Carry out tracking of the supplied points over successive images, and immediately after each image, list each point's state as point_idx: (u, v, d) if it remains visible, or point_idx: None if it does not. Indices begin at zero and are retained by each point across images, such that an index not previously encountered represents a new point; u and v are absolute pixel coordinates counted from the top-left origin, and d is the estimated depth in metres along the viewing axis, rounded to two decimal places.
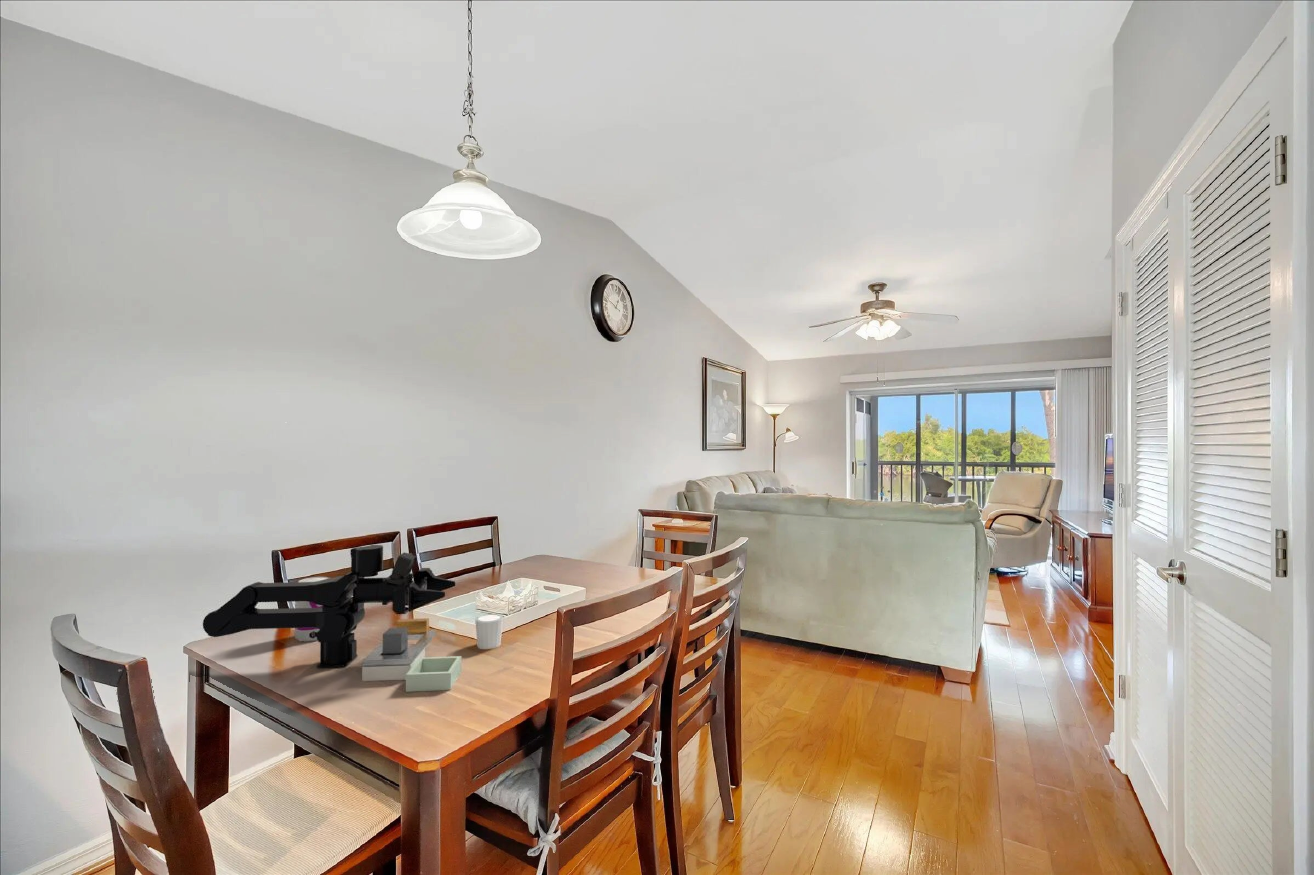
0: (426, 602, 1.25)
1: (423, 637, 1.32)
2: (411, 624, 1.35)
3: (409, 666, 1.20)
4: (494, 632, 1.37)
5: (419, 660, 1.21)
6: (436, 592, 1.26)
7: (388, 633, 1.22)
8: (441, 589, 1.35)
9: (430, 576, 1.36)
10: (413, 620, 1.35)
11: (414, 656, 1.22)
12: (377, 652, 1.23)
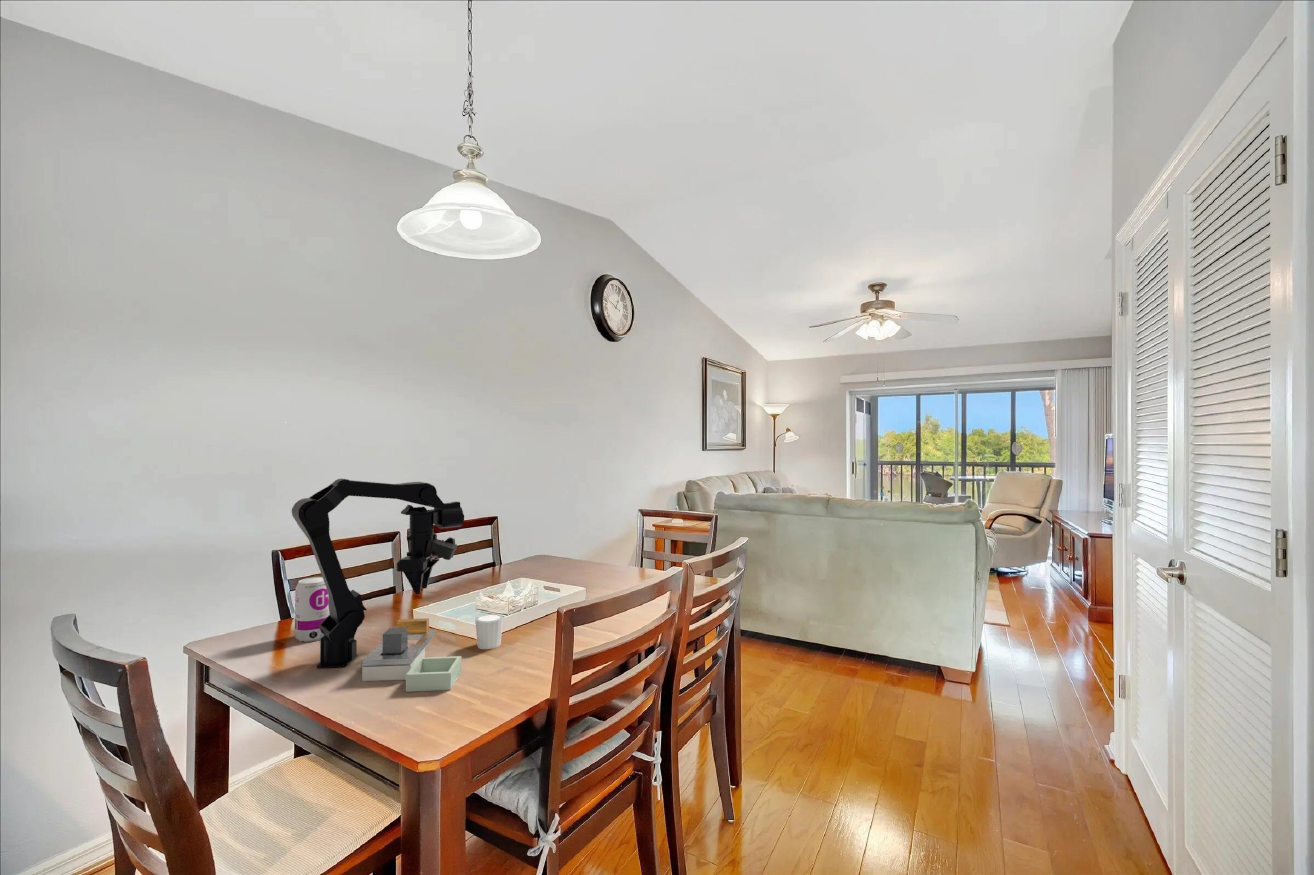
0: (410, 580, 1.38)
1: (423, 637, 1.32)
2: (411, 624, 1.35)
3: (409, 666, 1.20)
4: (494, 632, 1.37)
5: (419, 660, 1.21)
6: (419, 587, 1.39)
7: (388, 633, 1.22)
8: None
9: (432, 564, 1.45)
10: (413, 620, 1.35)
11: (414, 656, 1.22)
12: (377, 652, 1.23)
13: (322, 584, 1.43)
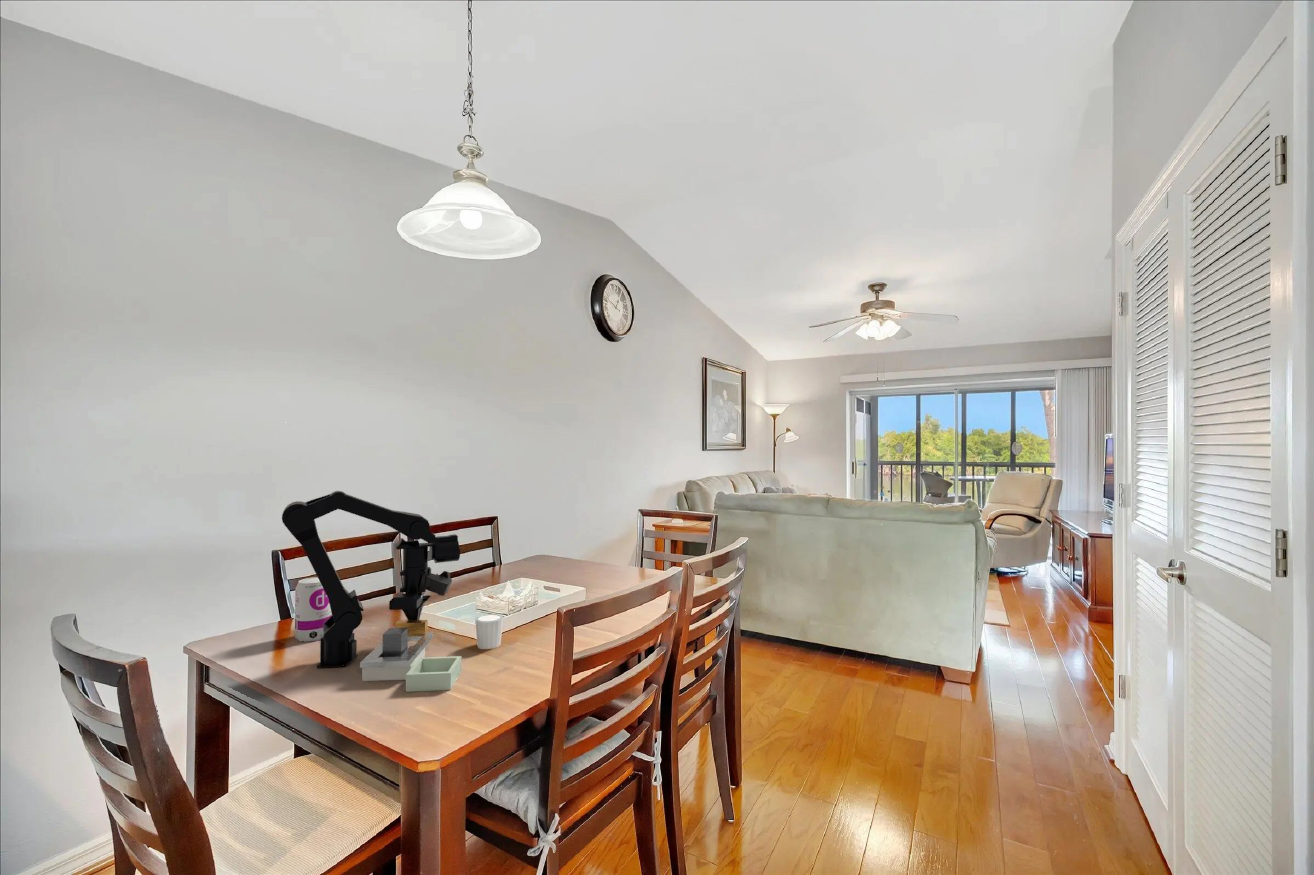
0: (406, 614, 1.36)
1: (422, 639, 1.31)
2: (409, 626, 1.34)
3: (409, 666, 1.20)
4: (494, 632, 1.38)
5: (419, 660, 1.21)
6: None
7: (388, 633, 1.22)
8: None
9: None
10: (412, 622, 1.34)
11: (412, 658, 1.21)
12: (375, 654, 1.22)
13: None
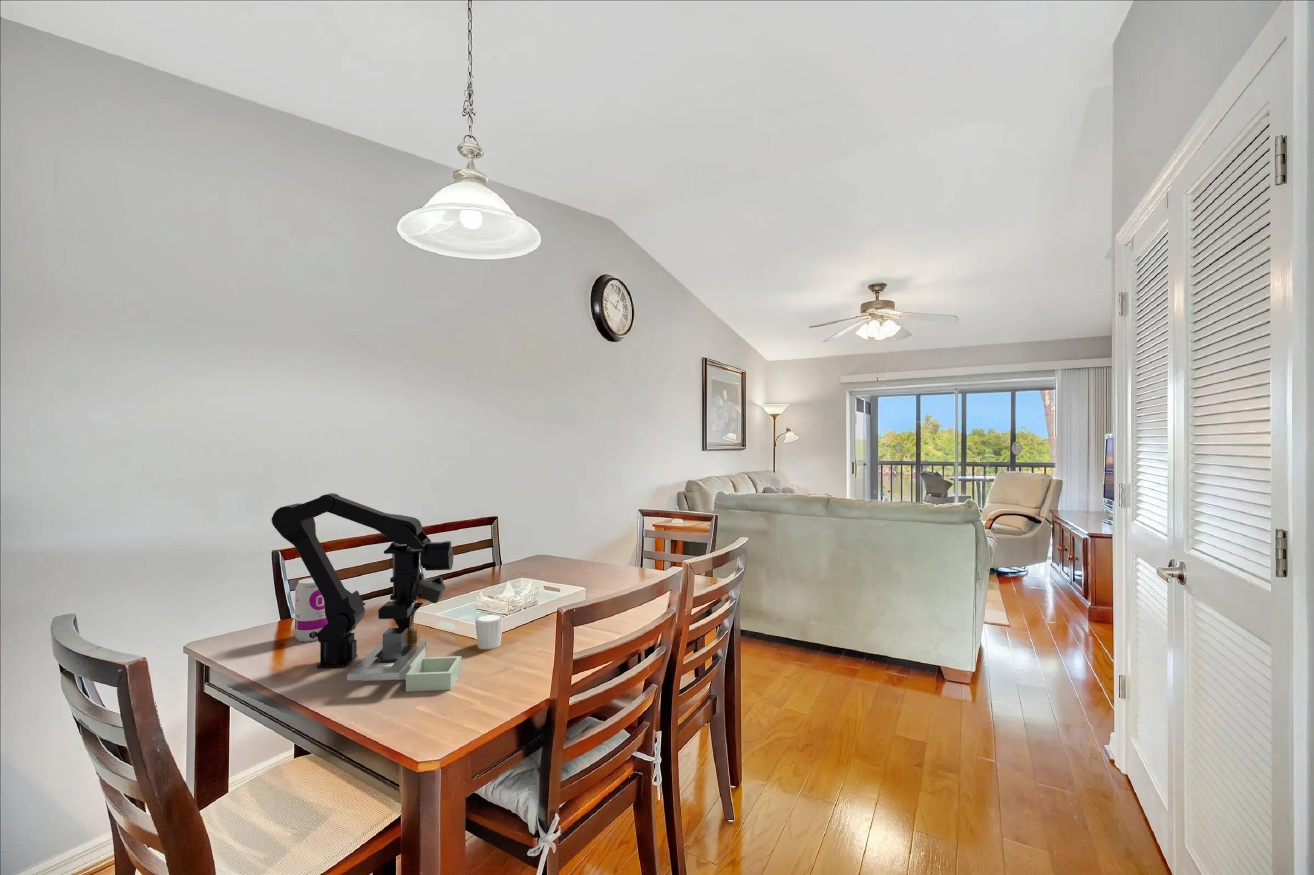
0: (397, 622, 1.30)
1: (413, 648, 1.25)
2: None
3: (409, 666, 1.20)
4: (494, 632, 1.37)
5: (419, 660, 1.21)
6: None
7: (388, 633, 1.22)
8: None
9: None
10: None
11: (402, 670, 1.15)
12: (363, 666, 1.15)
13: None
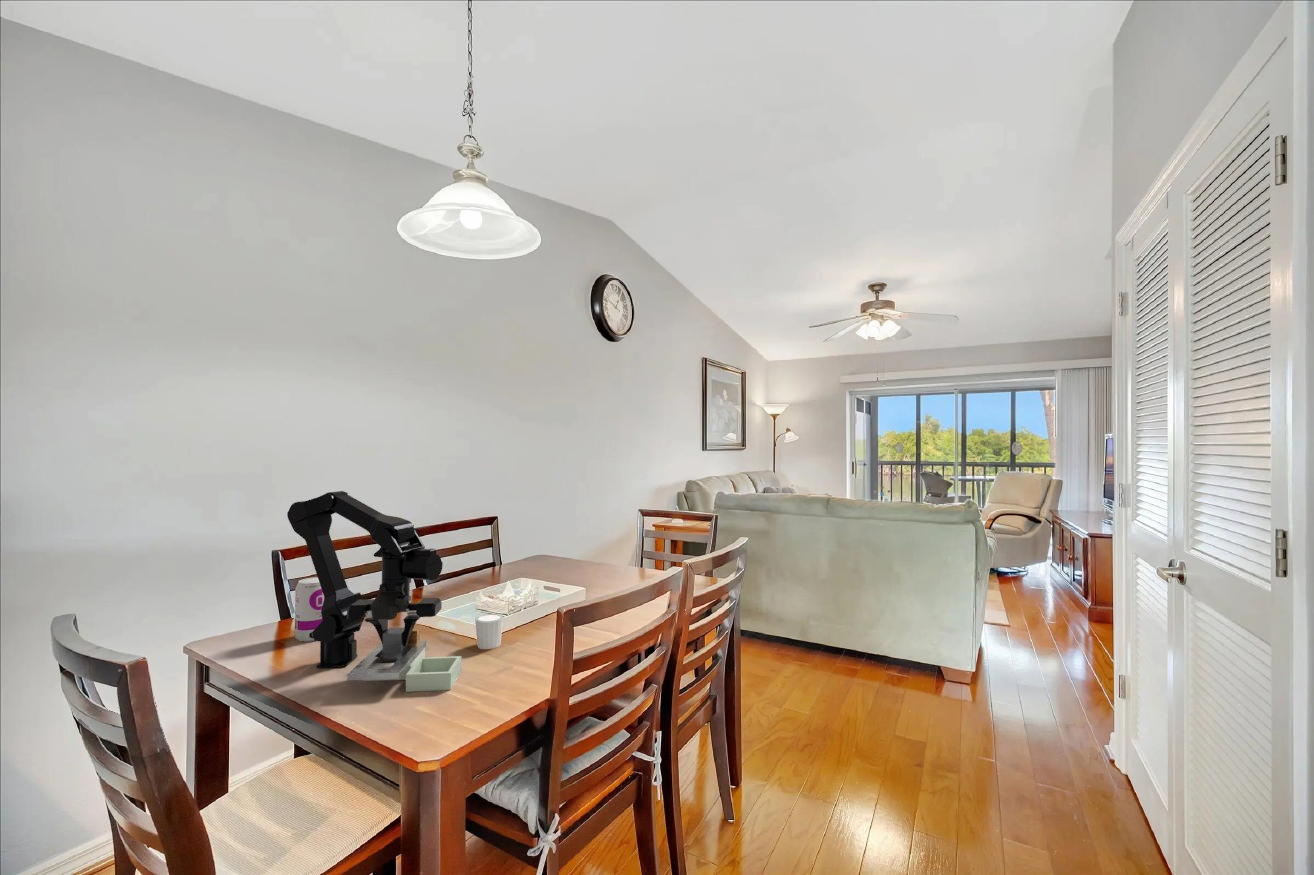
0: None
1: (413, 648, 1.25)
2: None
3: (409, 666, 1.20)
4: (494, 632, 1.38)
5: (419, 660, 1.21)
6: None
7: (388, 633, 1.22)
8: None
9: None
10: None
11: (403, 670, 1.15)
12: (363, 666, 1.15)
13: None
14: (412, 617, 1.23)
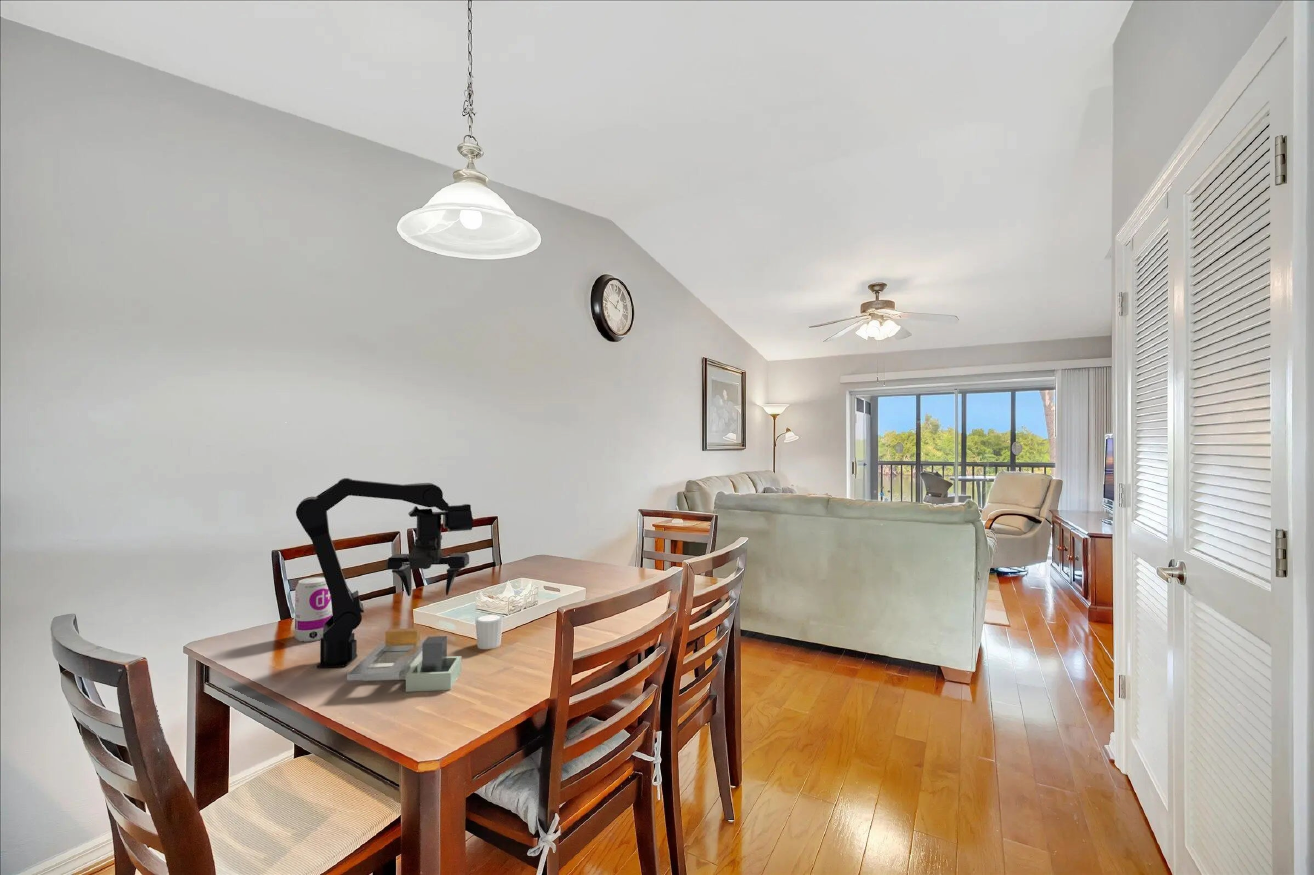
0: None
1: (413, 648, 1.25)
2: (401, 634, 1.28)
3: (409, 666, 1.20)
4: (494, 632, 1.38)
5: (419, 660, 1.21)
6: (406, 589, 1.37)
7: (428, 642, 1.17)
8: None
9: None
10: (403, 631, 1.28)
11: (403, 670, 1.15)
12: (363, 666, 1.15)
13: (322, 584, 1.43)
14: (454, 568, 1.37)
